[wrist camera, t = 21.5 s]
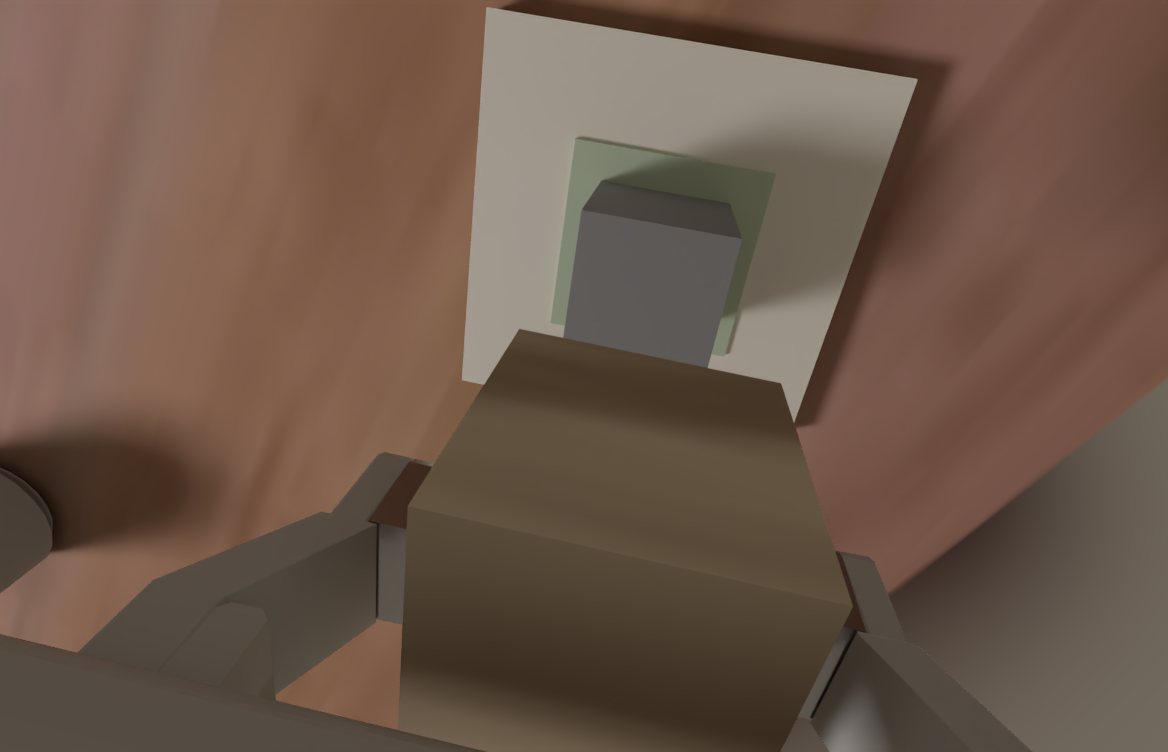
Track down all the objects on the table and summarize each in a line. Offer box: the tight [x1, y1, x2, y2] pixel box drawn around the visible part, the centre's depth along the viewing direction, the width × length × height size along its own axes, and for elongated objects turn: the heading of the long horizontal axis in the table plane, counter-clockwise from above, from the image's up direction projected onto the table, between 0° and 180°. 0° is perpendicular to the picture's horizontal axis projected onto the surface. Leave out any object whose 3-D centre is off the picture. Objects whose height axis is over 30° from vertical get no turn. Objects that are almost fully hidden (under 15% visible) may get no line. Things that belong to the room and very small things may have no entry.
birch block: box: [398, 329, 853, 752], centre depth 10 cm, size 5×5×5 cm
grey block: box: [563, 181, 742, 368], centre depth 21 cm, size 5×5×5 cm
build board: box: [462, 7, 918, 422], centre depth 24 cm, size 14×14×1 cm
